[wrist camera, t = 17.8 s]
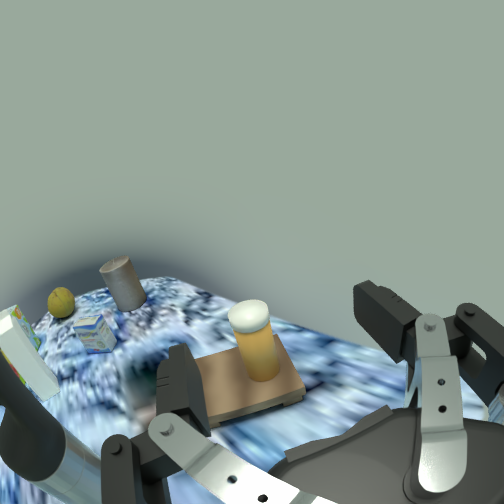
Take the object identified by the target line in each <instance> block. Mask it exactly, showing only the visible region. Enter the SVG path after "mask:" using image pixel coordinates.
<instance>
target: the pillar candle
mask: <svg viewBox="0 0 504 504" xmlns="http://www.w3.org/2000/svg"><path fill="white" fill-rule="evenodd" d="M100 272H101V274H102V276H103V278H104V281H105V283H106V285H107V287H108V289H109V291H110V293H111V295H112V297H113V299H114V301H115V302H116V304H117V306H118V308H119V310H120V311H121V312H127V311H133V310H135V309H137V308H139V307H140V306H141V305H143V303H144V302H145V301H146V298H147V297H146V294H145V292H144V290H143V288H142V286H141V283H140V281H139V279H138V277H137V275H136V272H135V270H134V268H133V266H132V263H131V261H130V259H129V257H128V256H120V257H117V258H115V259H112V260H110V261H109V262H107V263H106V264H104V265H103V266H102V267H101V269H100Z"/></svg>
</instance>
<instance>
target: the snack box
mask: <svg viewBox="0 0 504 504" xmlns="http://www.w3.org/2000/svg"><path fill="white" fill-rule="evenodd" d="M7 310H8V312H9V314H10V315H12V316H14V317H15V318H16V320H17V322H18V323H19V325H20V327H21V328H22V330H23V331H24V333H25V334H26V336H27V338H28V339H29V341H30V342H31V344H32V345H33V347H34V348H35V349H36V351H38V348H39V346H40V344H41V342H40V340H39V339H38V337H37V336H36V334H35V333H34V331H33V330H32V328H31V327H30V325H29V324H28V322H27V320H26V319H25V317H24V315H23V314H22V312H21V310H20V309H19V307H18V305H14V306H12V307H10V308H8V309H7ZM0 351H1V352H2V354H3V355H4V357H5V358H6V360H7V362H8V363H9V365H10V366H11V368H12V369H13V370H14V372H15V373H16V375H17V376H18V377H19V379H20V380H21V381H22V383H23V384H24V385H25V382H26V381H25V380H24V379H23V378H22V376H21V375H20V374H19V373H18V371H17V370H16V369H15V367H14V366H13V365H12V363H11V362H10V361H9V359H8V358H7V356H6V355H5V354H4V352H3V351H2V349H1V348H0Z"/></svg>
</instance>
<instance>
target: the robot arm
mask: <svg viewBox="0 0 504 504" xmlns="http://www.w3.org/2000/svg"><path fill="white" fill-rule="evenodd" d="M353 294H354V295H353V297H354V315H355V318H356V320H357V322H358V323H359V324H360V325H361V326H362V327H363V328H364V329H365V330H366V332H367V333H368V334H369V335H370V336H371V337H372V338H373V339H374V340H375V341H376V342H377V343H378V344H379V345H380V347H381V348H382V349H383V350H384V351H385V352H386V353H387V354H388V355H389V356H390V357H391V358H392V359H393V361H394V362H395V363H396V364H397V363H399V362H401V361H402V360H404V359H405V360H406V361H407V364H406V389H405V401H404V406H403V408H397V409H392V410H391V409H390V408H389V407H388V405H385V406H383V407H381V408H380V409H378V410H376V411H374V412H372V413H371V414H369V415H367V416H365V417H364V418H362V419H361V420H360V421H359V422H358V423H356V424H355V425H354V426H353V427H351V428H350V429H349V430H348V431H346V432H345V433H344V434H342V435H340V436H335V437H331V438H326V439H320V440H315V441H310V442H308V443H305V444H303V445H300V446H297V447H294V448H292V449H289V450H286V451H284V452H285V455H286V458H284V459H282V460H281V461H279V462H278V463H277V464H275V465H274V466H273V467H272V468H271V469H270V470H269V471H268V473H265V472H263V471H262V470H260V469H258V468H256V467H255V466H253V465H251V464H250V463H248V462H246V461H245V460H243V459H241V458H240V457H238V456H237V455H235V454H234V453H232V452H230V451H229V450H227V449H226V448H224V447H223V446H221V445H220V444H217V443H216V444H215V443H213V442H211V441H210V440H209V439H207V438H206V437H211V432H210V426H209V421H208V415H207V409H206V403H205V397H204V390H203V383H202V377H201V373H200V370H199V368H198V365H197V363H196V362H195V360H194V358H193V356H192V354H191V352H190V350H189V348H188V346H187V344H186V343H182V344H179V345H175V346H171V347H169V359H166V360H162V361H161V363H160V365H159V367H158V369H157V395H156V417H155V418H154V419H153V420H152V421H151V423H150V424H149V427H148V430H147V431H146V432H144V433H142V434H140V435H137V436H135V437H133V438H131V439H128V438H127V437H126V436H124V435H121V434H116V435H112V436H110V437H109V438H107V439H106V440H105V441H104V443H103V445H102V448H101V457H100V456H98V455H97V454H96V453H95V452H93V451H92V450H91V449H89V448H88V447H87V446H86V445H85V444H83V443H82V442H81V441H80V440H79V439H77V438H76V437H75V436H74V435H73V434H72V433H70V432H69V431H68V430H67V429H66V428H65V427H64V426H63V425H62V424H61V423H59V422H58V421H57V420H56V419H55V418H54V417H53V416H52V415H51V414H50V413H49V412H48V411H47V410H46V409H45V408H44V407H43V406H42V405H41V403H40V402H39V401H38V400H37V399H36V398H35V397H34V396H33V395H32V393H31V392H30V391H29V390H28V389H27V388H26V386H25V385H24V384H23V383H22V381H21V380H20V379H19V377H18V376H17V375H16V373H15V372H14V370H13V369H12V368H11V366H10V365H9V363H8V362H7V360H6V358H5V357H4V355H3V354H2V352H1V351H0V405H2V406H4V407H5V408H6V409H5V414H4V417H3V420H2V423H1V426H0V455H1V458H2V459H3V461H4V462H5V464H6V465H7V466H8V467H9V468H10V469H11V470H13V471H14V472H15V473H17V474H18V475H19V476H21V477H22V478H24V479H25V480H27V481H28V482H30V483H31V484H33V485H34V486H36V487H38V488H39V489H41V490H43V491H44V492H46V493H48V494H50V495H51V496H53V497H55V498H57V499H58V500H60V501H62V502H64V503H66V504H172V503H171V498H170V493H169V487H168V482H167V477H168V476H170V475H172V474H175V473H177V472H179V471H181V470H183V469H184V470H185V471H186V473H188V474H189V475H190V476H191V477H192V478H193V479H195V480H196V481H197V482H198V483H200V484H201V485H202V486H203V487H205V488H206V489H207V490H208V491H210V492H211V493H212V494H214V495H215V496H216V497H218V498H219V499H221V500H222V501H223V502H225V503H226V504H504V327H503V326H502V325H501V324H499V323H498V322H497V321H496V320H494V319H493V318H492V317H491V316H490V315H488V314H487V313H485V312H484V311H483V310H482V309H481V308H479V307H478V306H477V305H475V304H472V303H463V304H461V305H459V306H458V307H457V310H456V314H455V315H453V316H450V317H447V318H443V319H442V318H441V317H439V316H438V315H435V314H424V315H423V314H421V313H420V312H419V311H417V310H416V309H415V308H414V307H412V306H411V305H410V304H409V303H407V302H406V301H405V300H403V299H402V298H401V297H400V296H397V294H396V293H394V292H393V291H392V290H390V289H388V288H385V287H383V286H379V287H378V286H376V285H375V284H374V283H373V282H371V281H370V280H367V281H365V282H362V283H360V284H357V285H355V286H354V288H353ZM473 342H474V343H475V344H476V345H478V346H479V347H480V348H481V349H482V350H483V351H484V352H485V354H486V360H485V359H484V358H483V357H482V356H481V355H480V354H479V353H478V352H477V351H476V350H474V348H472V344H473ZM459 375H460V376H461V377H462V379H463V380H464V381H465V382H466V383H467V384H468V385H469V386H470V387H471V389H472V390H473V391H474V392H475V393H476V394H477V395H478V396H479V398H480V399H481V400H482V401H483V402H484V403H485V405H486V406H487V407H488V413H489V418H488V421H481V420H474V419H468V418H463V410H462V396H461V386H460V377H459Z"/></svg>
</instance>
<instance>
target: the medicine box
mask: <svg viewBox="0 0 504 504" xmlns="http://www.w3.org/2000/svg"><path fill="white" fill-rule="evenodd" d="M73 329H74V331H75V332H76V334H77V336H78V337H79V339H80V341H81V342H82V344H83V345H84V347H85V348H86V350H87V351H88V353H90V354H93V353H105V352H112V350H113V348H114V346H115V344H116V342H117V340H116V338H115V337H114V335H113V333H112V332H111V330H110V328H109V326H108V325H107V323H106V321H105V319H104V317H103V316H102V314H101V315H95V316H88V317H81V318H79V319H78V320H77V321H76V323H75V324H74V326H73Z"/></svg>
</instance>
